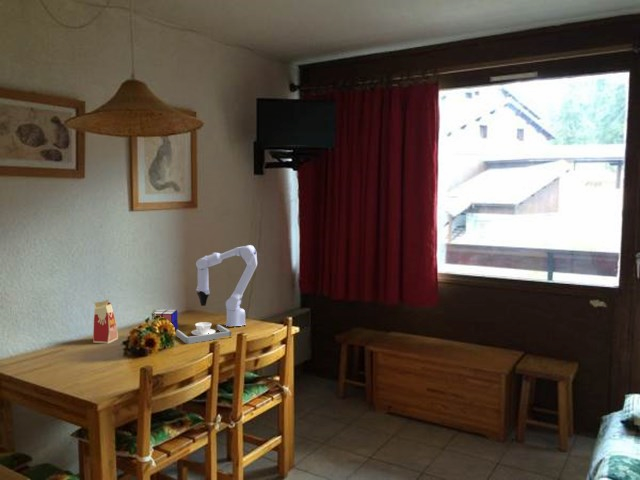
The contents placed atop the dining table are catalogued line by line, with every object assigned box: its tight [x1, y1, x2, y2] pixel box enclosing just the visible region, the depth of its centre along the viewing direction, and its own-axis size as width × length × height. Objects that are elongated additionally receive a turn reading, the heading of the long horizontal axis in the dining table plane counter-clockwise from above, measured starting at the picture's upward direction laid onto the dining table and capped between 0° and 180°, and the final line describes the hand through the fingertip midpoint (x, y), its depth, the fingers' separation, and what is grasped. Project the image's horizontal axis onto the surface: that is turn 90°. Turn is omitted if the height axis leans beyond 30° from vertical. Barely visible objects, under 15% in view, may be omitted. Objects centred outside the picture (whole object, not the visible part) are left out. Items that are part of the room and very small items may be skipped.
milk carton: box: [92, 299, 119, 345], centre depth 255 cm, size 9×9×20 cm
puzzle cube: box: [151, 308, 179, 330], centre depth 275 cm, size 10×10×10 cm
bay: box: [175, 324, 232, 345], centre depth 265 cm, size 22×16×3 cm
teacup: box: [191, 321, 217, 336], centre depth 269 cm, size 12×12×5 cm
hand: (203, 305), depth 287 cm, fingers closed
